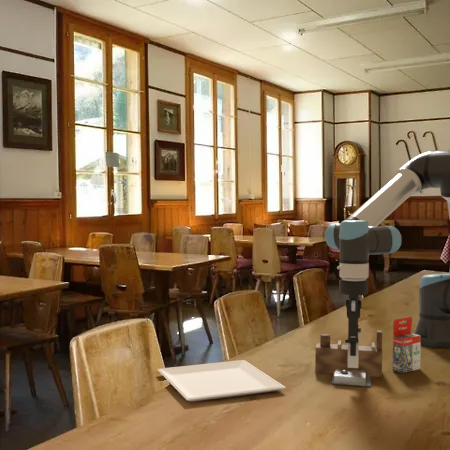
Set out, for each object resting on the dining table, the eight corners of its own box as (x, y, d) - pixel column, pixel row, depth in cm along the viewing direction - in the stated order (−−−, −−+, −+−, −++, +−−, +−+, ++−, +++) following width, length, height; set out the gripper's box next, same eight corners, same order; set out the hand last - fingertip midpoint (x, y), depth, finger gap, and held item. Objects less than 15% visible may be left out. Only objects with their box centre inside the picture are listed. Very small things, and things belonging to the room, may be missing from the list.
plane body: (381, 371, 173) (382, 329, 172) (381, 377, 168) (382, 333, 167) (316, 367, 176) (317, 325, 176) (315, 372, 172) (315, 329, 171)
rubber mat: (370, 377, 167) (370, 376, 167) (370, 387, 159) (370, 385, 159) (333, 375, 169) (333, 373, 169) (331, 384, 161) (331, 382, 161)
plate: (186, 407, 144) (186, 398, 144) (156, 375, 168) (156, 368, 168) (286, 394, 154) (286, 386, 154) (244, 366, 178) (244, 359, 178)
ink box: (420, 369, 175) (422, 318, 174) (401, 374, 171) (403, 321, 170) (410, 366, 178) (411, 316, 177) (391, 370, 174) (392, 319, 173)
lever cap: (365, 377, 166) (365, 368, 166) (365, 385, 159) (365, 375, 159) (335, 375, 167) (335, 366, 167) (333, 383, 161) (334, 373, 160)
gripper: (340, 272, 174) (340, 350, 175) (337, 284, 152) (337, 373, 153) (367, 273, 172) (367, 351, 174) (368, 285, 150) (368, 375, 151)
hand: (353, 361), depth 163 cm, fingers open, 10 cm apart
